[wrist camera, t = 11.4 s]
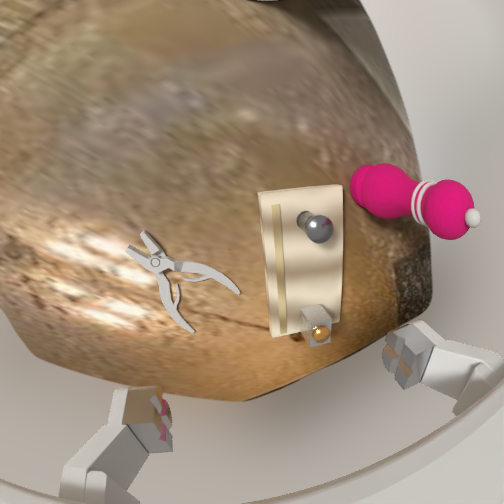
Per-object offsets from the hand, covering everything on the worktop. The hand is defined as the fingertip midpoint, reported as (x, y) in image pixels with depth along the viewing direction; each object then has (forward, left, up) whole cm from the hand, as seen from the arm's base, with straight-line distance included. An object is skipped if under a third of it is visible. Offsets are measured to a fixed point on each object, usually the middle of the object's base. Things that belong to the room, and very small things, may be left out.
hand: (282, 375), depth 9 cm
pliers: (+8, -6, -29) cm, 30 cm away
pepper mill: (-1, +21, -28) cm, 36 cm away
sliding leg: (+17, +11, -26) cm, 33 cm away
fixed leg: (+2, +11, -26) cm, 29 cm away
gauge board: (+9, +11, -28) cm, 31 cm away
